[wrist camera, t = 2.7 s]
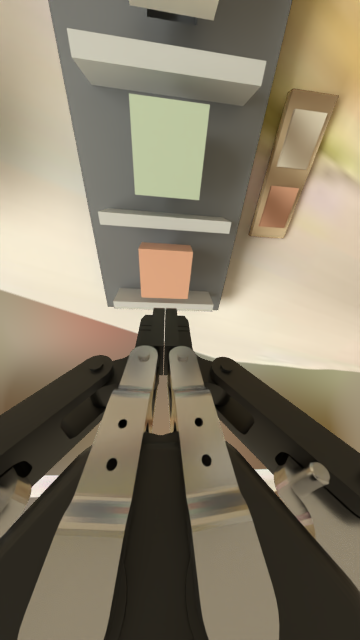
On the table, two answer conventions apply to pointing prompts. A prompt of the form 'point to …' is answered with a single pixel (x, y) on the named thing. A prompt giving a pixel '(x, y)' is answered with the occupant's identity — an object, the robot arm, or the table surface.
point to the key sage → (168, 146)
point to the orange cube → (165, 270)
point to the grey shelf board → (178, 84)
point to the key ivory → (181, 7)
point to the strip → (291, 160)
